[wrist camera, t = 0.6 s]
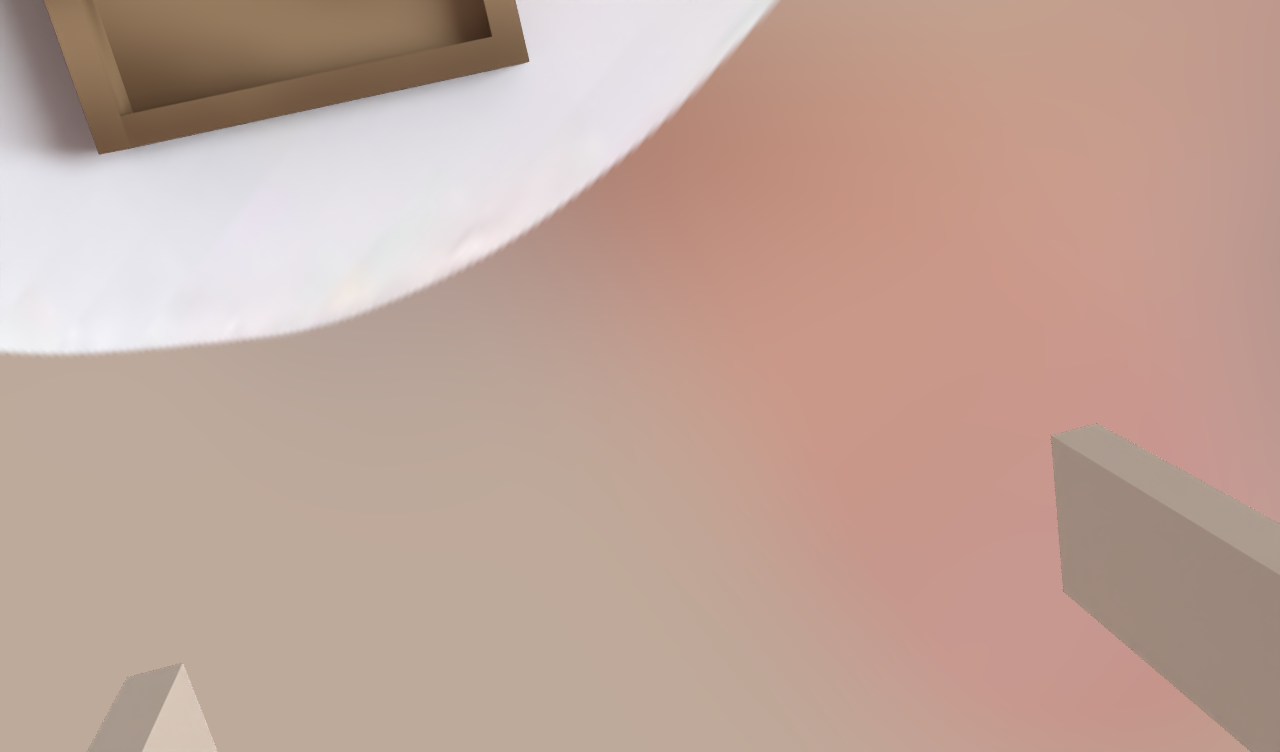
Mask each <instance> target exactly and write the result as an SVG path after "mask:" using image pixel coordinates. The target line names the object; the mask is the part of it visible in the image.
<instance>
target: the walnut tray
mask: <svg viewBox="0 0 1280 752" xmlns="http://www.w3.org/2000/svg"><path fill="white" fill-rule="evenodd" d="M44 2H45V5H46V8H47V11H48V14H49V16H50V19H51V22H52V25H53V27H54V30H55V33H56V36H57V39H58V41H59V44H60V47H61V50H62V53H63V55H64V58H65V61H66V64H67V67H68V69H69V72H70V75H71V78H72V81H73V83H74V86H75V89H76V92H77V94H78V97H79V100H80V103H81V106H82V108H83V111H84V114H85V117H86V120H87V122H88V125H89V128H90V131H91V134H92V136H93V139H94V142H95V145H96V148H97V150H98V153H99V154H104V153H110V152H115V151H120V150H125V149H130V148H135V147H139V146H144V145H149V144H153V143H158V142H162V141H167V140H172V139H176V138H181V137H185V136H190V135H195V134H199V133H204V132H209V131H213V130H218V129H222V128H227V127H232V126H236V125H241V124H246V123H250V122H255V121H259V120H264V119H269V118H273V117H278V116H282V115H287V114H292V113H296V112H301V111H306V110H310V109H315V108H319V107H324V106H329V105H333V104H338V103H343V102H347V101H352V100H356V99H361V98H366V97H370V96H375V95H379V94H384V93H389V92H393V91H398V90H403V89H407V88H412V87H416V86H421V85H426V84H430V83H435V82H439V81H444V80H449V79H453V78H458V77H463V76H467V75H472V74H476V73H481V72H486V71H490V70H495V69H500V68H504V67H509V66H513V65H518V64H523V63H526V62H529V58H528V53H527V49H526V45H525V40H524V36H523V32H522V27H521V23H520V18H519V14H518V10H517V5H516V1H515V0H44Z"/></svg>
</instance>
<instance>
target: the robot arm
mask: <svg viewBox="0 0 1280 752" xmlns="http://www.w3.org/2000/svg"><path fill="white" fill-rule="evenodd" d="M1051 444H1052V456H1053V468H1054V482H1055V493H1056V494H1055V495H1056V507H1057V519H1058V532H1059V544H1060V557H1061V570H1062V582H1063V592H1064V593H1066V594H1067V595H1068V596H1069V597H1070V598H1071V599H1073V600H1074V601H1075V602H1076V603H1077V604H1078V605H1080V606H1081V607H1082V608H1083V609H1084V610H1086V611H1087V612H1088V613H1089V614H1090V615H1091V616H1092V617H1094V618H1095V619H1096V620H1097V621H1098V622H1100V623H1101V624H1102V625H1103V626H1104V627H1105V628H1107V629H1108V630H1109V631H1110V632H1111V633H1112V634H1114V635H1115V636H1116V637H1117V638H1118V639H1119V640H1121V641H1122V642H1123V643H1124V644H1125V645H1126V646H1128V647H1129V648H1130V649H1131V650H1132V651H1134V652H1135V653H1136V654H1137V655H1138V656H1139V657H1141V658H1142V659H1143V660H1144V661H1145V662H1146V663H1148V664H1149V665H1150V666H1151V667H1152V668H1153V669H1155V670H1156V671H1157V672H1158V673H1159V674H1160V675H1162V676H1163V677H1164V678H1165V679H1166V680H1168V681H1169V682H1170V683H1171V684H1172V685H1173V686H1174V687H1176V688H1177V689H1178V690H1179V691H1180V692H1181V693H1183V694H1184V695H1185V696H1186V697H1187V698H1189V699H1190V700H1191V701H1192V702H1193V703H1194V704H1196V705H1197V706H1198V707H1199V708H1200V709H1201V710H1203V711H1204V712H1205V713H1206V714H1207V715H1208V716H1210V717H1211V718H1212V719H1213V720H1214V721H1215V722H1217V723H1218V724H1219V725H1220V726H1222V727H1223V728H1224V729H1225V730H1226V731H1227V732H1228V733H1230V734H1231V735H1232V736H1233V737H1234V738H1235V739H1237V740H1238V741H1239V742H1240V743H1241V744H1242V745H1244V746H1245V747H1246V748H1247V749H1248V750H1250V751H1251V752H1280V523H1278V522H1276V521H1275V520H1273V519H1271V518H1269V517H1267V516H1265V515H1264V514H1262V513H1260V512H1258V511H1256V510H1255V509H1253V508H1251V507H1249V506H1247V505H1245V504H1244V503H1242V502H1240V501H1238V500H1236V499H1234V498H1233V497H1231V496H1229V495H1227V494H1225V493H1223V492H1222V491H1220V490H1218V489H1216V488H1214V487H1213V486H1211V485H1209V484H1207V483H1205V482H1203V481H1202V480H1200V479H1198V478H1196V477H1194V476H1192V475H1191V474H1189V473H1187V472H1185V471H1183V470H1181V469H1180V468H1178V467H1176V466H1174V465H1172V464H1170V463H1169V462H1167V461H1165V460H1163V459H1161V458H1159V457H1158V456H1156V455H1154V454H1152V453H1150V452H1149V451H1147V450H1145V449H1143V448H1141V447H1139V446H1138V445H1136V444H1134V443H1132V442H1130V441H1128V440H1127V439H1125V438H1123V437H1121V436H1119V435H1117V434H1116V433H1114V432H1112V431H1110V430H1108V429H1106V428H1104V427H1103V426H1101V425H1099V424H1097V423H1096V424H1092V425H1088V426H1084V427H1081V428H1077V429H1073V430H1070V431H1066V432H1061V433H1058V434H1054V435H1051ZM87 752H217V749H216V747H215V744H214V742H213V739H212V736H211V734H210V731H209V729H208V726H207V723H206V721H205V718H204V716H203V713H202V711H201V708H200V706H199V703H198V700H197V698H196V696H195V693H194V690H193V688H192V685H191V683H190V680H189V677H188V675H187V672H186V670H185V667H184V665H183V663H180V664H176V665H172V666H168V667H164V668H160V669H157V670H153V671H149V672H145V673H141V674H138V675H134V676H130V677H127V678H126V680H125V682H124V684H123V686H122V688H121V689H120V691H119V693H118V695H117V697H116V699H115V701H114V702H113V704H112V706H111V708H110V710H109V712H108V714H107V716H106V717H105V719H104V721H103V723H102V725H101V727H100V728H99V730H98V732H97V734H96V736H95V738H94V739H93V741H92V743H91V745H90V747H89V749H88V751H87Z"/></svg>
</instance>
